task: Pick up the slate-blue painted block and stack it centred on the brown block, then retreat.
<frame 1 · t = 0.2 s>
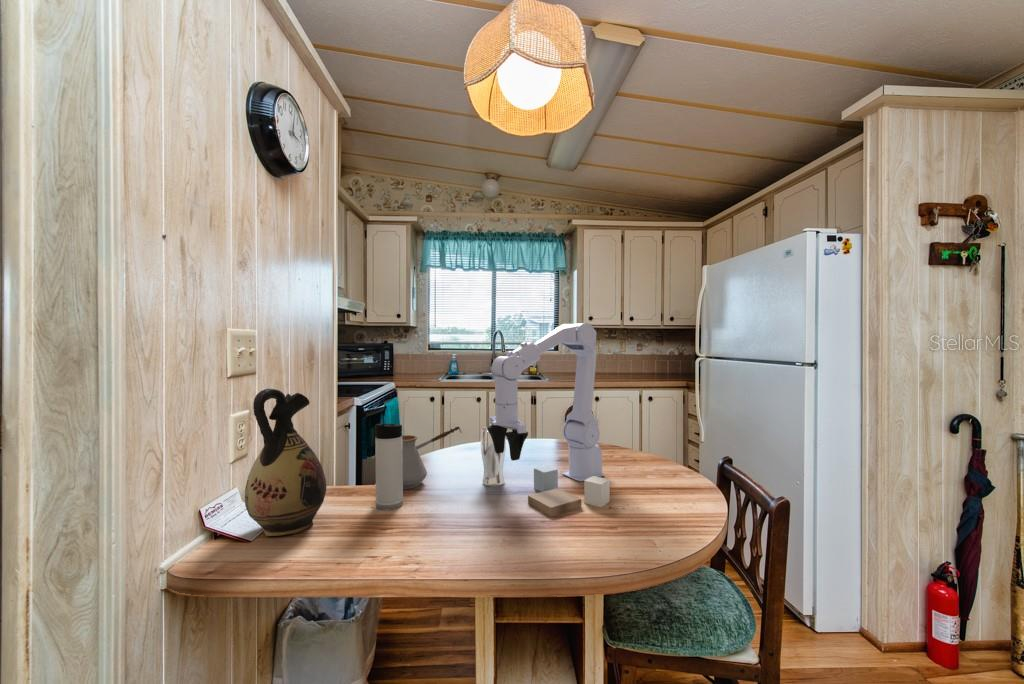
hand: (507, 456, 110), 10 cm above the table, fingers open, 7 cm apart
cream block: (597, 502, 105), on the table
slate block: (545, 489, 114), on the table
travel mug: (389, 506, 104), on the table
ceramic jug: (284, 529, 91), on the table
beer glass: (493, 483, 119), on the table
brown block: (554, 507, 103), on the table
coffee pot: (424, 483, 120), on the table
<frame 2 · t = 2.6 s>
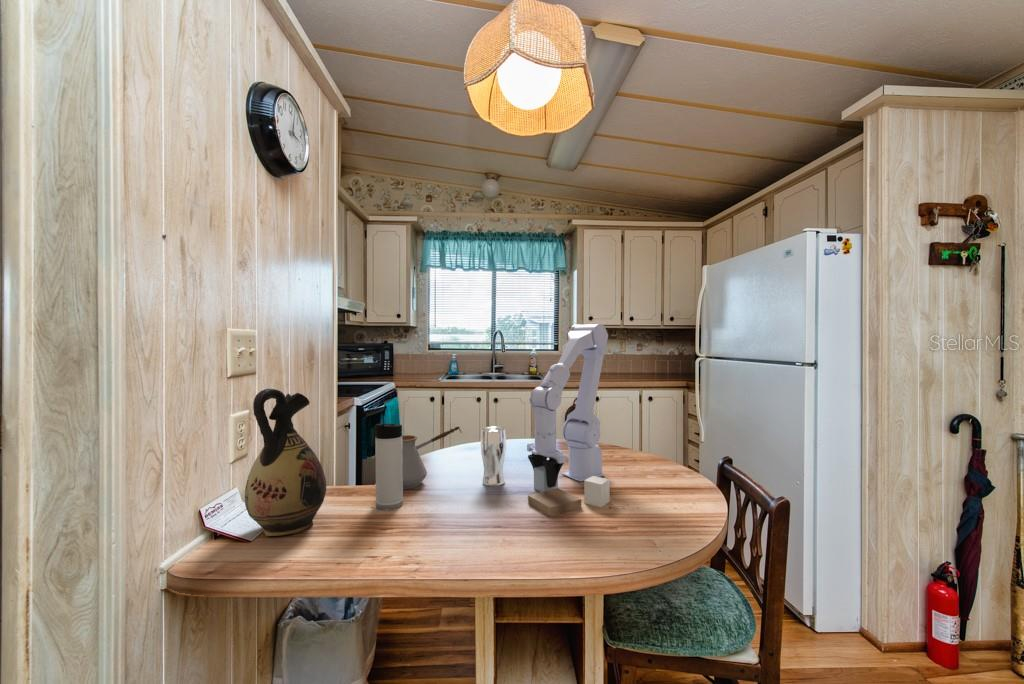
hand: (545, 483, 114), 1 cm above the table, fingers closed on slate block, 4 cm apart
slate block: (545, 489, 114), on the table, touching gripper
everything else where it was.
when the fingers open (6 cm above the table, at t = 5.4 s): slate block drops 2 cm, point 2 cm above the table.
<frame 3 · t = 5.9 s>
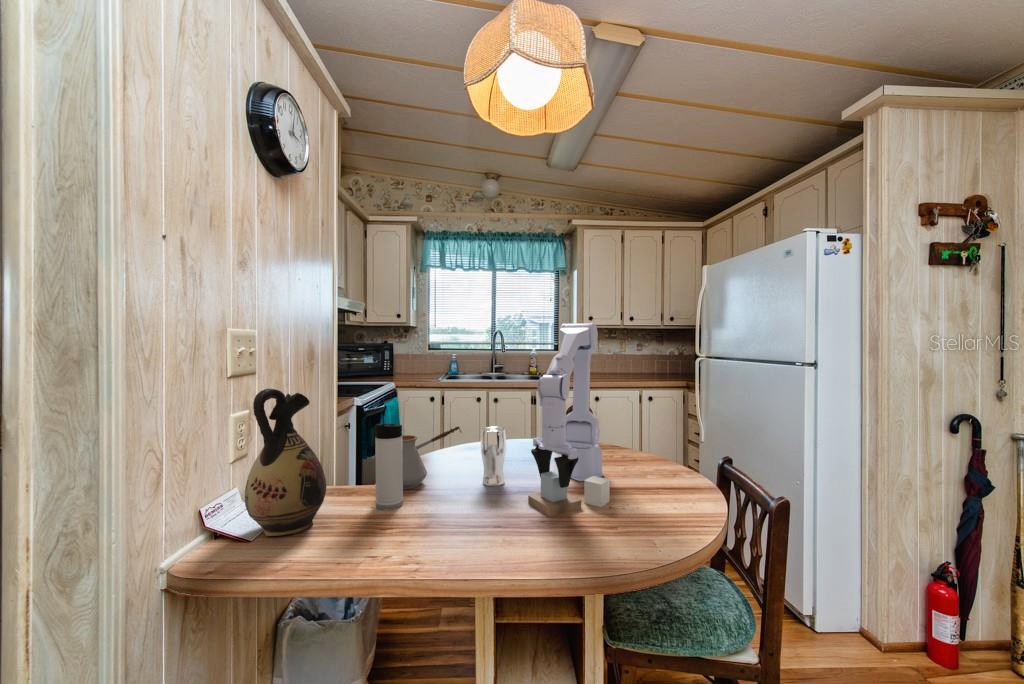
hand: (554, 482, 103), 6 cm above the table, fingers open, 7 cm apart
slate block: (553, 497, 103), point 2 cm above the table
everything else where it was.
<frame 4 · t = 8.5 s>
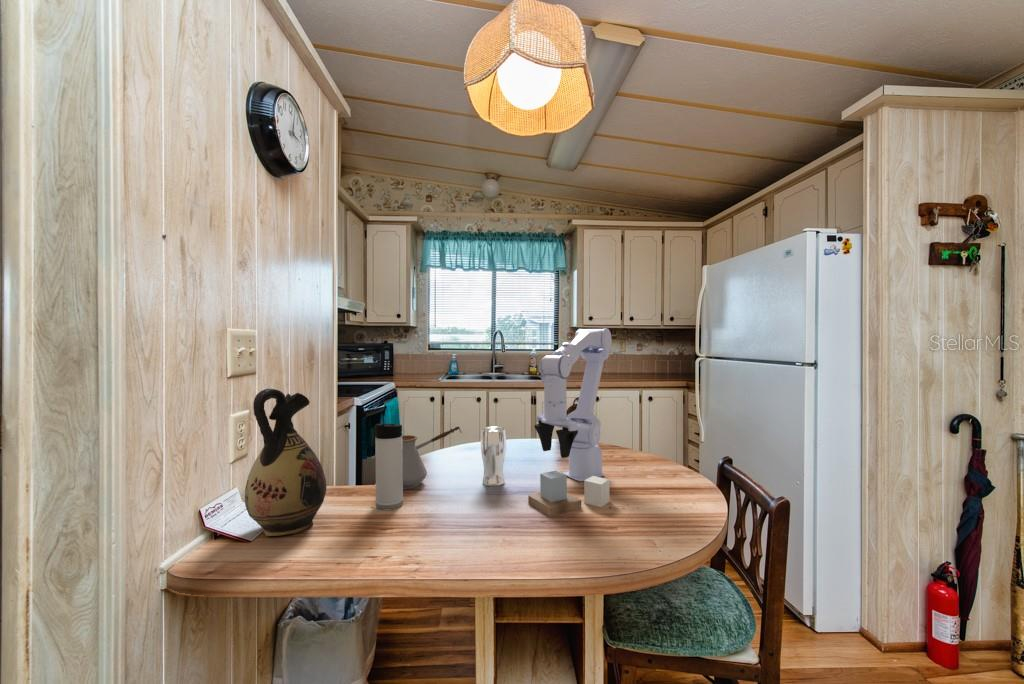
hand: (555, 453, 112), 10 cm above the table, fingers open, 7 cm apart
slate block: (553, 497, 103), point 2 cm above the table, touching brown block
brown block: (554, 508, 103), on the table, touching slate block
everything else where it was.
at the end: slate block 0.1 cm off-centre on the brown block, point 2.5 cm above the brown block's base; slate block tilted 0°; the gripper is holding nothing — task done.
